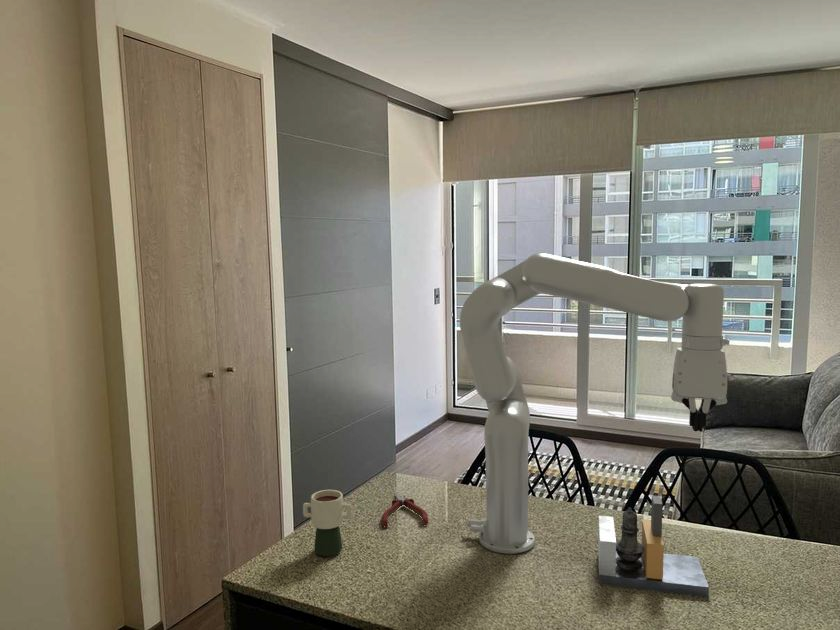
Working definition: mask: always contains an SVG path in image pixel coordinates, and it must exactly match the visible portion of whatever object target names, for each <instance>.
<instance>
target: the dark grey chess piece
mask: <svg viewBox="0 0 840 630" xmlns="http://www.w3.org/2000/svg"><path fill="white" fill-rule="evenodd" d="M620 530H621V539H619V540H616V552H617V554H618V556H619V557H618V558H617V559H616V564H617V565H618V566H620V567H622V568H625V569H630V570H636V569H640V568H641V567H642V562H641V561H640V560H638V559H640V558H641V556H642V554H643V551H644V547H643V545H642V543H640V542H638V533H639V531H640V529H639V528H638V515H637V513H636V512H635V511H633V509H632V507H631V506H629V507H628V508H627V510H624V512H622V524H621V526H620Z"/></svg>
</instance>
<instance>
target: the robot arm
mask: <svg viewBox="0 0 840 630" xmlns="http://www.w3.org/2000/svg"><path fill="white" fill-rule="evenodd" d="M540 294H545V295H549V296H553V297H558V298H561V299H562V298H563V299H567V300H570V301H575V302H580V303H583V304H588V305H591V306H595V307H598V308H604V309H608V310H609V309H610V310H615V311H619V312H623V313H627V314H632V315H635V316H640V317H644V318H648V319H652V320H656V321H660V322H674V321H677V320H679V319H681V318H682V326H681V327H682V328H681V347H677V349H676V352H675V356H674V362H673V368H672V369H673V370H672V380H671V381H672V382H671V388H672V392H671V396H670V399H671V401H673V402H677V403H680V404H683V405H684V406H685V407H686V408H687V409H688V411H689V417H688V418H689V419H688V420H689V421H688V424H689V426H690V427H691V429H692V430H693V431H694V432H701V433H702V432H703V431H704V430H703V429H704V428H706V426H707V414H708V413H709V412H710V410H712V409H713V408H715V406H720V405H725V404H728V399H727V394H728V368H727V360H726V359H727V358H726V353H725V350H724V349H723V347H724V346H729V345H730V338H725V337H724V336H723V319H724V318H723V317H724V316H723V315H724V303H725V302H724V299H725V291H724V288H723V287H722V286H721V285H719V284H714V283H690V284H681V283H673V282H668V281H666V282H665V281H658V280H652V279H649V278H644V277H640V276H636V275H631V274H627V273H624V272H620V271H618V270H616V269H612V268H610V267H608V266H603V265H600V264H595V263H591V262H586V261H580V260H576V259H571V258H567V257H563V256H559V255H554V254H550V253H545V252H537V253H534V254H532V255H530V256H528V258H526V259H525V260H523V261H521V262H520V263H518V264H517V265H515V266H513V267H512V268H509V269H507V270H505V271H504V272H502V273H501V274H499V275H497V276H495V277H493V278H491V279H487V280H486V281H484V282H482V283H480V284H479V286H478V287H476V288H475V289H474V290H473V291H472V292H471V293H470V294H469V296H468V297H467V298H466V300H465V301H464V302H463V305H462V307H461V311H460V315H459V329H460V332H461V333H460V334H461V338H462V341H463V345H464V349H465V355H466V357H467V361H468V365H469V368H470V372H471V375H472V380H473V384H474V387H475V391H476V392H477V394H478V395H479V396H480V397H481V398H482V399H483V400H485V403H486V406H487V410H488V415H487V418H486V420H485V425H484V433H483V434H484V435H483V437H484V453H485V518H481V519H475V518H467V523H466V524H467V525H466V526H467V528H470V531H471V532H475V533H476V532H477V533H478V532H479V536H478V537H479V538H478V539H479V542H480V544H481V545H482V547H484V548H486V549H487V550H489V551H492V552H495V553H499V554H508V555H509V554H521V553H524V552H527V551H529V550H531V549H532V548H533V547H534V545H535V544H536V542H535V541H536V537H535V534H533V532H532V531H530V530H529V432H530V431H529V430H530V421H531V413H530V409H529V404H528V401H527V397H526V395H525V394H526V393H525V390H524V387H523V383H522V380H521V378H520V374H519V370H518V367H517V365H516V363H515V362H514V361H513V360H512V358H510V357H509V356H507V353H506V349H505V346H504V341H503V337H502V334H501V332H500V330H499V329H500V328H499V322H500V319H501V318H503V317H504V316H505V315H507V314H508V313H509V312H511V311H512V310H513V309H515V308H516V307H519V306H520V305H522V304H524V303H526V302H527V301H529V300H530V299H533V298H534V297H536V296H538V295H540ZM696 399H701V401H700V406H699V407H698V408H697V406H696V405H697V403H696Z"/></svg>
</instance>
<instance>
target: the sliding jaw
mask: <svg viewBox="0 0 840 630" xmlns="http://www.w3.org/2000/svg"><path fill="white" fill-rule="evenodd" d="M650 506H651V507H650V508H651V511H650V512H651V513H650V515H651V516H650V520H648V519H642V520H641V544H642V545H643V547H644V551H643V554H642V557H643V562H644V567H645V572H646V578H653V579H662V580H663V559H664V551H665V549H664V548H665V545H664V541H663V537H662V536H663V535H662V534H663V506H664V505H663V501H662V498H661V495H660V496H658V495H651V505H650Z"/></svg>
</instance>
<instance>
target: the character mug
mask: <svg viewBox="0 0 840 630" xmlns="http://www.w3.org/2000/svg"><path fill="white" fill-rule="evenodd" d="M343 495H344V494H343V493H342V492H341V491H339V490H336V489H323V490H319V491H316V492H314V493H313V494H311V495H310V502H304V503H303V505H302V515H303V517H304V518H311V524H312V526H313V527H314V528H316V529H315V538H314V548H313V549H314V551H313V552H315V553H316V554H317V555H319V556H321V557H329V556H334V555H336V554H338V553H339V552H341V551H342V549H343V541H342V535H341V534H342V533H341V530H340V529H341V527H340V526H341V525H342V523H343V521H344V519H351V518H352V516H353V514H352V513H353V512H352V511H353V509H352V508H353V507H352V504H351V503H344V499H343V497H344V496H343ZM308 508H310V512H308ZM344 509H347V511H346V513H344Z"/></svg>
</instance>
